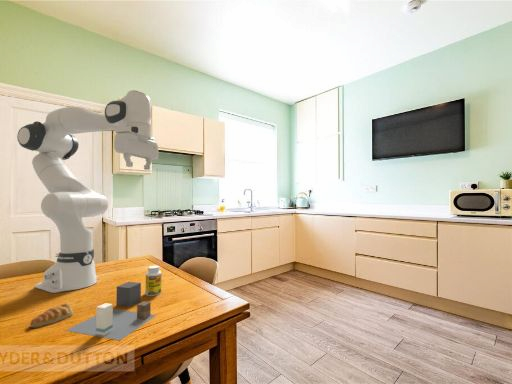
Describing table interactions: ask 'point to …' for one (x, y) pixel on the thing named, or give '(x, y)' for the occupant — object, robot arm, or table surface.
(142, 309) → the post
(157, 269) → the supplement bottle
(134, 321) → the mat
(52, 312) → the pastry
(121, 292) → the dark gray block
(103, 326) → the post
